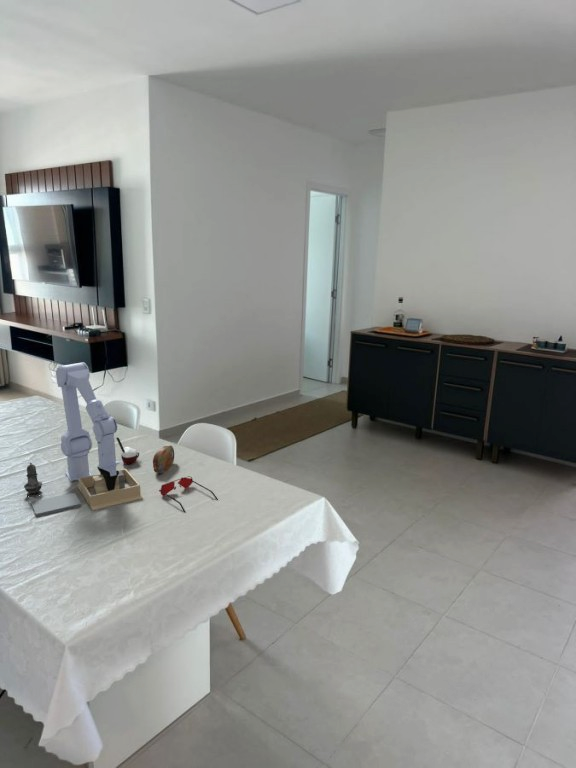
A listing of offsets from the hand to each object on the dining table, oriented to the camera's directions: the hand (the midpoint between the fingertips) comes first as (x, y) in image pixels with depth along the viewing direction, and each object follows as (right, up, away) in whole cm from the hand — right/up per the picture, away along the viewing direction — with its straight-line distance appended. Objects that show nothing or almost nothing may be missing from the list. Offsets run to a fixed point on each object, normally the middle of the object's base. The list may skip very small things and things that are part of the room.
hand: (109, 487), depth 189 cm
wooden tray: (0, -2, 0) cm, 2 cm away
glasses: (+29, -4, -3) cm, 29 cm away
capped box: (0, -1, 0) cm, 2 cm away
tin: (+15, +3, +21) cm, 26 cm away
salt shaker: (-26, -2, -2) cm, 26 cm away
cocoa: (-1, +5, +27) cm, 27 cm away
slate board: (-14, -4, -10) cm, 18 cm away
